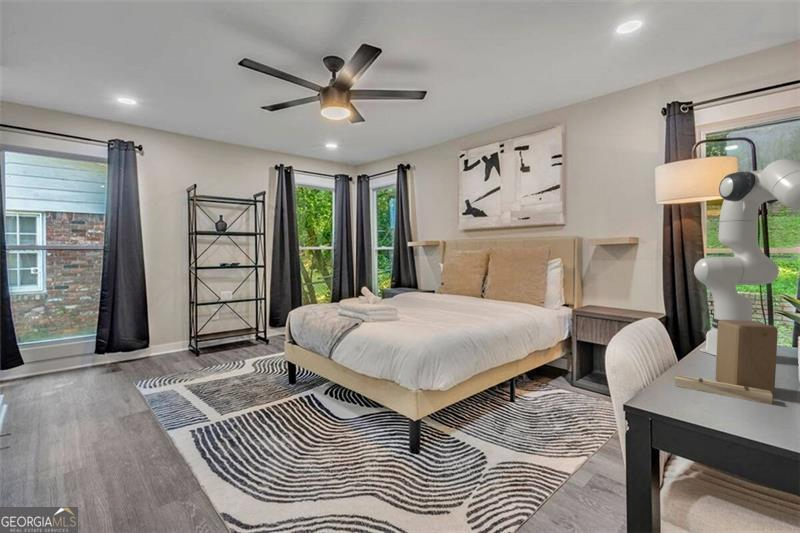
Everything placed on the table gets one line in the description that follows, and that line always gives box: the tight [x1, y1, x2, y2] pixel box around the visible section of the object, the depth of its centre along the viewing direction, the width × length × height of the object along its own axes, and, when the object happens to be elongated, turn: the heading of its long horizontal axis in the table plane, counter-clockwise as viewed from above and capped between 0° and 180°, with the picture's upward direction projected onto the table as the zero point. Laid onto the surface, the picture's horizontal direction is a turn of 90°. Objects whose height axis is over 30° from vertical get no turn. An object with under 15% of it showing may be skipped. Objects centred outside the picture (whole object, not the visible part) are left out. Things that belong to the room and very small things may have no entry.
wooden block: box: [715, 320, 779, 395], centre depth 110 cm, size 10×10×20 cm
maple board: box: [674, 374, 774, 405], centre depth 107 cm, size 4×21×3 cm, turn 50°
